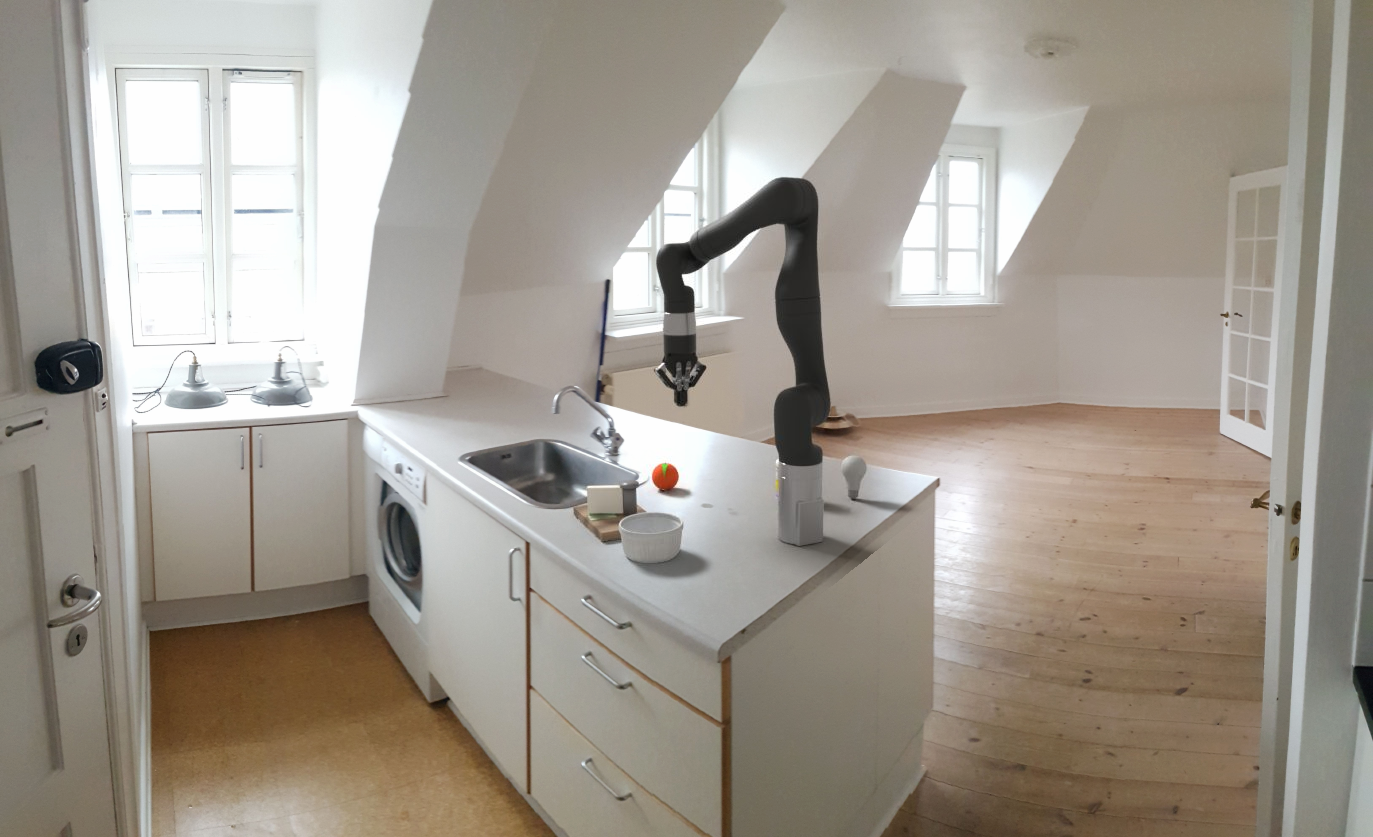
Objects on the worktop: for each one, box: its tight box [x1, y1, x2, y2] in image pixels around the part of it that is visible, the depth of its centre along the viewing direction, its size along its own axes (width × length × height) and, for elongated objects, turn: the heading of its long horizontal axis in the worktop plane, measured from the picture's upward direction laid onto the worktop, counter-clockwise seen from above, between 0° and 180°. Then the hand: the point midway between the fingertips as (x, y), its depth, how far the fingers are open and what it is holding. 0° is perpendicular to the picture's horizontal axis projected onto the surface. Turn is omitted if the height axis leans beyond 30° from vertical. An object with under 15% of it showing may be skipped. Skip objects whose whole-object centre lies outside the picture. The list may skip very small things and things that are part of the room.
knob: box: [586, 479, 640, 515], centre depth 196 cm, size 12×4×7 cm, turn 90°
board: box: [573, 504, 647, 543], centre depth 197 cm, size 20×14×2 cm
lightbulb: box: [840, 455, 868, 500], centre depth 211 cm, size 6×6×11 cm
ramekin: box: [619, 511, 684, 564], centre depth 178 cm, size 13×13×7 cm
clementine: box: [651, 462, 680, 491], centre depth 221 cm, size 8×7×7 cm
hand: (680, 405), depth 202 cm, fingers closed
